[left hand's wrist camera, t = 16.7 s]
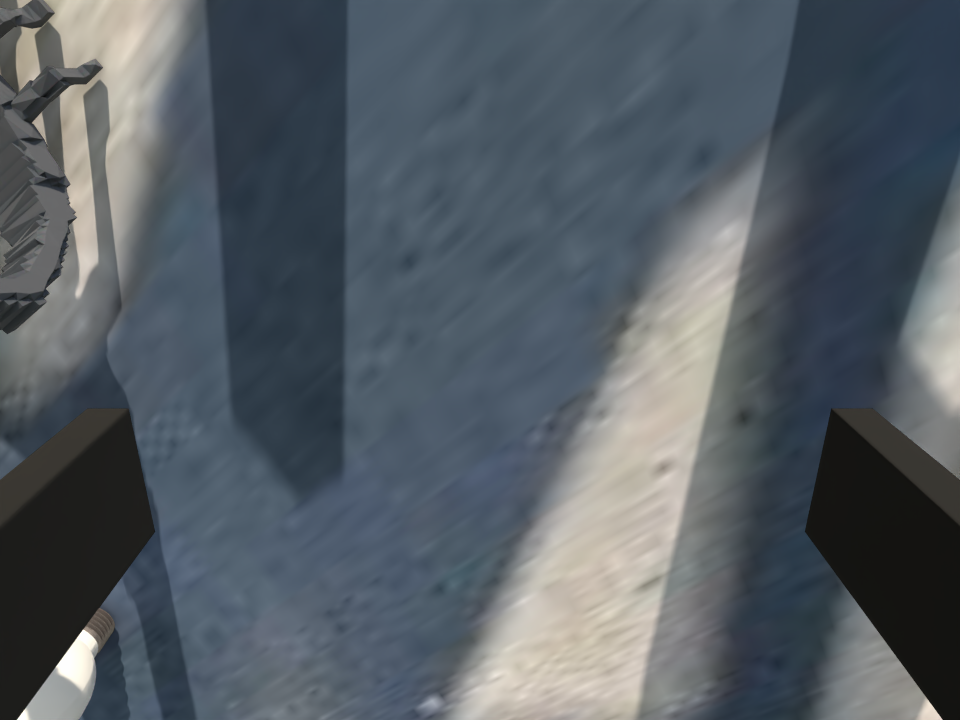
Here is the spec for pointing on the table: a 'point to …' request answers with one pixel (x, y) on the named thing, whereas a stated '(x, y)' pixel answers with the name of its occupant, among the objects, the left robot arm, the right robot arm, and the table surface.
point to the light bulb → (72, 675)
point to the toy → (32, 181)
